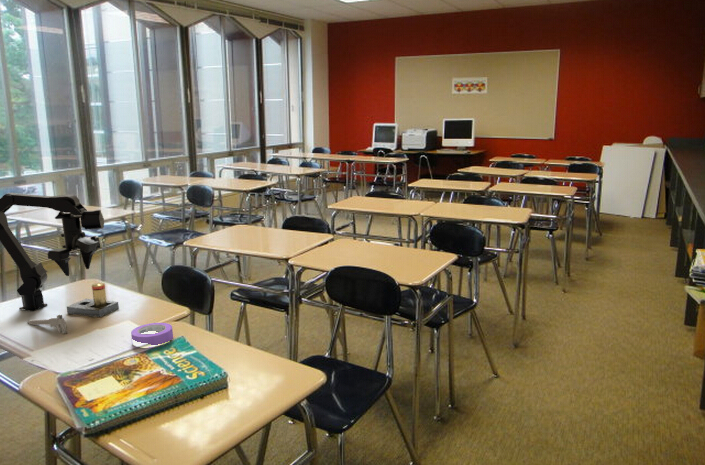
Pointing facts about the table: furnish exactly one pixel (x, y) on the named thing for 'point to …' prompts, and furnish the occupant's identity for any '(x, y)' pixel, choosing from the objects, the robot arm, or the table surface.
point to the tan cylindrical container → (99, 295)
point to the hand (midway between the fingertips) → (77, 272)
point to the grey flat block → (91, 308)
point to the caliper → (52, 323)
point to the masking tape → (153, 339)
